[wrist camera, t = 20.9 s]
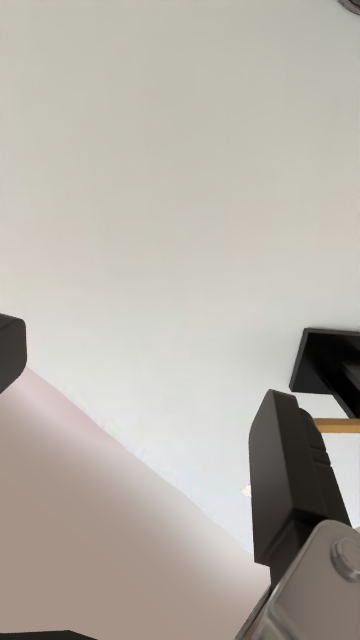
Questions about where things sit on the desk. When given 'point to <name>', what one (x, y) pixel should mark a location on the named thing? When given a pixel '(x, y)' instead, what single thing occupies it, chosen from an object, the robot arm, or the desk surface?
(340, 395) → the black lever stand
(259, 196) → the desk surface
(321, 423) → the black ball knob lever
